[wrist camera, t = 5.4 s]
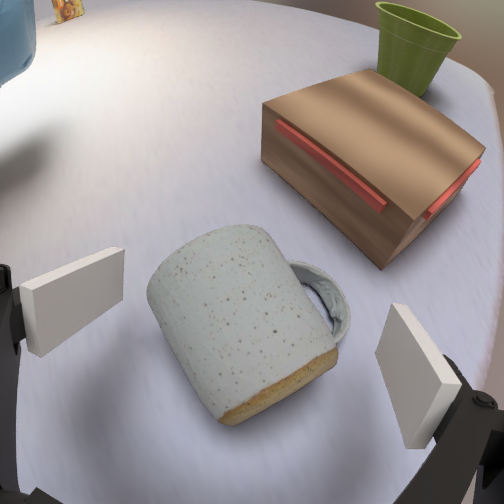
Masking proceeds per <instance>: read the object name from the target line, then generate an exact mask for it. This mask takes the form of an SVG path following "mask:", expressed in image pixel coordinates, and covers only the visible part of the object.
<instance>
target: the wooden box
mask: <svg viewBox="0 0 504 504" xmlns="http://www.w3.org/2000/svg"><path fill="white" fill-rule="evenodd" d="M485 149H486V147H485V146H483V145H482V144H481V143H480V142H478V141H477V140H476V139H475V138H474V137H472V136H471V135H470V134H469V133H467V132H466V131H465V130H463V129H462V128H461V127H459V126H458V125H457V124H455V123H454V122H453V121H451V120H450V119H449V118H447V117H446V116H445V115H443V114H442V113H440V112H439V111H437V110H436V109H435V108H433V107H432V106H430V105H429V104H427V103H426V102H424V101H423V100H421V99H420V98H418V97H417V96H415V95H414V94H412V93H410V92H409V91H407V90H406V89H404V88H402V87H401V86H399V85H397V84H396V83H394V82H392V81H391V80H389V79H387V78H385V77H384V76H382V75H380V74H378V73H377V72H375V71H373V70H371V69H367V70H363V71H359V72H355V73H352V74H348V75H345V76H341V77H338V78H335V79H331V80H328V81H325V82H322V83H318V84H315V85H312V86H309V87H306V88H303V89H300V90H297V91H294V92H291V93H289V94H286V95H283V96H280V97H277V98H275V99H272V100H269V101H267V102H264V103H262V138H261V160H262V161H263V162H264V163H266V164H267V165H268V166H269V167H270V168H271V169H273V170H274V171H275V172H276V173H277V174H278V175H280V176H281V177H282V178H283V179H284V180H285V181H286V182H288V183H289V184H290V185H291V186H292V187H293V188H294V189H296V190H297V191H298V192H299V193H300V194H301V195H302V196H303V197H305V198H306V199H307V200H308V201H309V202H310V203H311V204H312V205H313V206H315V207H316V208H317V209H318V210H319V211H320V212H321V213H322V214H323V215H324V216H325V217H327V218H328V219H329V220H330V221H331V222H332V223H333V224H334V225H335V226H336V227H337V228H338V229H339V230H340V231H341V232H343V233H344V234H345V235H346V236H347V237H348V238H349V239H350V240H351V241H352V242H353V243H354V244H355V245H356V246H357V247H358V248H359V249H360V250H361V251H362V252H363V253H364V254H365V255H366V256H367V257H368V258H369V259H370V260H371V261H373V262H374V263H375V264H376V265H377V266H378V267H379V268H380V269H381V270H382V269H383V268H385V267H386V266H387V265H388V264H389V263H390V262H391V261H392V260H393V259H394V258H395V257H396V256H397V255H398V254H399V253H400V252H401V251H403V250H404V249H405V248H406V247H407V246H408V245H409V244H410V243H411V242H412V241H413V240H414V239H415V238H416V237H417V236H418V235H419V234H420V233H421V232H422V231H423V230H424V229H425V228H426V227H427V226H428V225H429V224H430V223H431V222H432V221H433V220H434V219H435V218H436V217H437V216H438V214H439V213H440V212H441V211H442V210H443V209H444V208H445V207H446V206H447V205H448V204H449V203H450V202H451V201H452V200H453V199H454V198H455V196H456V195H457V194H458V193H459V192H460V191H461V189H462V188H463V186H464V184H465V183H466V181H467V180H468V178H469V177H470V175H471V174H472V173H473V172H474V171H475V170H476V169H477V168H478V166H479V164H480V163H481V160H480V158H481V156H482V154H483V153H484V151H485Z"/></svg>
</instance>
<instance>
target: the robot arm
mask: <svg viewBox="0 0 504 504" xmlns="http://www.w3.org/2000/svg"><path fill="white" fill-rule="evenodd" d="M35 52H36V25H35V12H34V1H33V0H0V88H1V86H2V85H3V84H5V83H6V82H8V81H9V80H11V79H13V78H14V77H16V76H17V75H19V74H21V73H22V72H24V71H25V70H26V69H27V68H28V67H29V66H30V65H31V63H32V61H33V59H34V57H35ZM124 251H125V249H121V248H117V247H110V248H107V249H105V250H102V251H99V252H97V253H94V254H92V255H89V256H87V257H84V258H82V259H79V260H77V261H74V262H72V263H69V264H67V265H64V266H62V267H59V268H57V269H55V270H52V271H50V272H47V273H45V274H43V275H40V276H38V277H36V278H33V279H31V280H28V281H26V282H24V283H22V284H19V287H17V288H14V289H12V282H11V270H10V267H9V266H8V265H4V264H0V504H63V503H61V502H59V501H58V500H56V499H54V498H53V497H51V496H50V495H48V494H46V493H45V492H43V491H42V490H40V489H39V488H37V487H36V488H35V489H34V491H33V492H32V493H31V494H30V495H28V494H24V493H21V492H20V489H19V485H18V478H17V462H16V403H17V387H18V375H19V365H20V356H21V346H20V341H21V340H22V339H24V338H26V341H27V347H28V351H29V352H31V353H33V354H35V355H37V356H39V357H41V358H42V357H43V356H44V355H46V354H47V353H49V352H50V351H51V350H53V349H54V348H55V347H57V346H58V345H60V344H61V343H62V342H64V341H65V340H67V339H68V338H69V337H71V336H72V335H73V334H75V333H76V332H78V331H79V330H80V329H82V328H83V327H85V326H86V325H88V324H89V323H90V322H92V321H93V320H95V319H96V318H97V317H99V316H100V315H102V314H103V313H105V312H106V311H107V310H109V309H110V308H112V307H113V306H115V305H116V304H117V303H119V302H120V301H122V300H123V273H124ZM375 355H376V358H377V361H378V364H379V366H380V369H381V372H382V375H383V378H384V381H385V384H386V387H387V390H388V393H389V396H390V399H391V402H392V405H393V408H394V411H395V415H396V418H397V421H398V424H399V427H400V431H401V434H402V437H403V441H404V444H405V448H406V449H425V448H426V446H427V445H428V443H429V442H430V440H431V439H432V437H434V439H435V442H436V445H435V447H434V448H433V450H432V451H431V453H430V454H429V456H428V457H427V459H426V460H425V461H424V463H423V464H422V466H421V467H420V469H419V470H418V472H417V473H416V474H415V476H414V477H413V479H412V480H411V481H410V483H409V484H408V485H407V486H406V488H405V489H404V490H403V492H402V493H401V494H400V495H399V497H398V498H397V499H396V500H395V502H394V503H393V504H461V502H462V500H463V498H464V496H465V494H466V492H467V490H468V488H469V486H470V483H471V481H472V479H473V476H474V474H475V472H476V470H477V474H476V483H475V491H474V499H473V504H504V411H503V410H498V405H497V403H496V401H495V400H494V399H493V398H492V397H491V396H490V395H488V394H486V393H484V392H481V391H477V390H473V389H472V388H471V386H470V385H469V383H468V382H467V380H466V379H465V378H464V376H462V373H461V372H460V370H458V367H457V366H456V365H455V363H454V362H453V361H452V360H451V359H449V358H448V357H447V356H446V355H442V354H441V352H440V351H439V349H438V348H437V347H436V345H435V344H434V342H433V341H432V339H431V338H430V337H429V335H428V334H427V332H426V331H425V330H424V328H423V327H422V326H421V324H420V323H419V321H418V320H417V319H416V317H415V316H414V315H413V313H412V312H411V311H410V309H409V308H408V307H407V305H403V304H398V303H392V304H391V307H390V310H389V313H388V317H387V320H386V323H385V326H384V329H383V332H382V335H381V338H380V341H379V344H378V347H377V349H376V352H375Z"/></svg>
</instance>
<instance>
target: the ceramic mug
mask: <svg viewBox="0 0 504 504" xmlns="http://www.w3.org/2000/svg"><path fill="white" fill-rule="evenodd" d="M299 280H301V281H303V282H305V283H307V284H309V285H311V286H312V287H313V288H314V289H315V290H316V291H317V292H318V293H319V295H320V296H321V298H322V299H323V301H324V303H325V305H326V307H327V308H328V310H329V313H330V316H331V317H332V319H333V320H334V330H333V334H332V333H331V331H330V328H329V327H328V325H327V323H326V322H325V320H324V319H323V317H322V315H321V314H320V312H319V311H318V310H317V308H316V307H315V305H314V304H313V303H312V301H311V300H310V298H309V297H308V295H307V294H306V292H305V290H304V289H303V287H302V285H301V284H300V282H299ZM147 300H148V303H149V305H150V307H151V309H152V311H153V313H154V315H155V317H156V319H157V321H158V323H159V325H160V327H161V329H162V331H163V333H164V335H165V337H166V339H167V341H168V343H169V345H170V347H171V349H172V351H173V353H174V354H175V356H176V358H177V359H178V361H179V363H180V365H181V366H182V368H183V370H184V372H185V374H186V376H187V378H188V380H189V381H190V383H191V385H192V387H193V389H194V391H195V392H196V394H197V396H198V397H199V399H200V401H201V402H202V403H203V405H204V406H205V407H206V408H207V409H208V411H209V412H210V413H211V414H212V416H213V417H214V418H215V419H216V420H217V421H219V422H220V423H222V424H225V425H229V426H235V425H237V424H239V423H241V422H243V421H245V420H247V419H248V418H250V417H252V416H254V415H256V414H258V413H259V412H261V411H263V410H265V409H266V408H268V407H270V406H271V405H273V404H275V403H277V402H279V401H280V400H282V399H284V398H286V397H287V396H289V395H291V394H292V393H294V392H296V391H297V390H299V389H300V388H302V387H303V386H305V385H306V384H308V383H310V382H311V381H313V380H314V379H316V378H317V377H319V376H321V375H322V374H324V373H325V372H327V371H328V370H330V369H332V368H333V367H334V366H335V365H336V363H337V359H338V349H337V346H336V344H337V343H338V342H339V341H340V340H341V339H342V338H343V337H344V336H345V334H346V332H347V330H348V329H349V326H350V309H349V306H348V303H347V301H346V298H345V296H344V294H343V293H342V291H341V289H340V288H339V286H338V285H337V284H336V282H335V281H334V280H333V279H332V278H331V277H330V276H329V275H327V274H326V273H325V272H324V271H322V270H321V269H319V268H317V267H315V266H313V265H310V264H307V263H304V262H299V261H286V259H285V258H284V256H283V254H282V253H281V251H280V250H279V248H278V246H277V245H276V243H275V242H274V240H273V239H272V237H271V236H270V235H269V234H268V233H267V232H266V231H265V230H264V229H263V228H260V227H258V226H253V225H235V226H228V227H224V228H221V229H218V230H214V231H212V232H209V233H206V234H204V235H202V236H200V237H197V238H196V239H194V240H192V241H191V242H189V243H187V244H185V245H184V246H182V247H181V248H179V249H178V250H177V251H175V252H174V253H173V254H172V255H170V256H169V257H168V258H166V259H165V261H164V262H163V263H162V264H161V265H160V266H159V267H158V268H157V270H156V271H155V273H154V274H153V276H152V277H151V279H150V281H149V283H148V287H147Z"/></svg>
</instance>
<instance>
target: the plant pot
mask: <svg viewBox="0 0 504 504" xmlns="http://www.w3.org/2000/svg"><path fill="white" fill-rule="evenodd" d="M376 7H377V8H378V9H379V24H380V34H379V52H378V66H377V73H378V74H380V75H382V76H384V77H385V78H387V79H389V80H391V81H392V82H394V83H396V84H397V85H399V86H401V87H402V88H404V89H406V90H407V91H409V92H410V93H412V94H414V95H415V96H417V97H421V96H422V95H423V94H424V93H425V91H426V90H427V88H428V86H429V85H430V83H431V81H432V79H433V78H434V76H435V74H436V73H437V71H438V69H439V67H440V66H441V64H442V62H443V61H444V59H445V57H446V55H447V54H448V52H450V51H451V50H452V48H453V46H454V45H455V43H456V41H457V40H461V39H462V36H461V35H460V34H459V33H458V32H457V31H456V30H455V29H453V28H451V27H450V26H449V25H447V24H445V23H444V22H442V21H440V20H438V19H436V18H434V17H432V16H430V15H427V14H425V13H422V12H420V11H417V10H414V9H411V8H408V7H405V6H401V5H398V4H393V3H387V2H377V3H376Z"/></svg>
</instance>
